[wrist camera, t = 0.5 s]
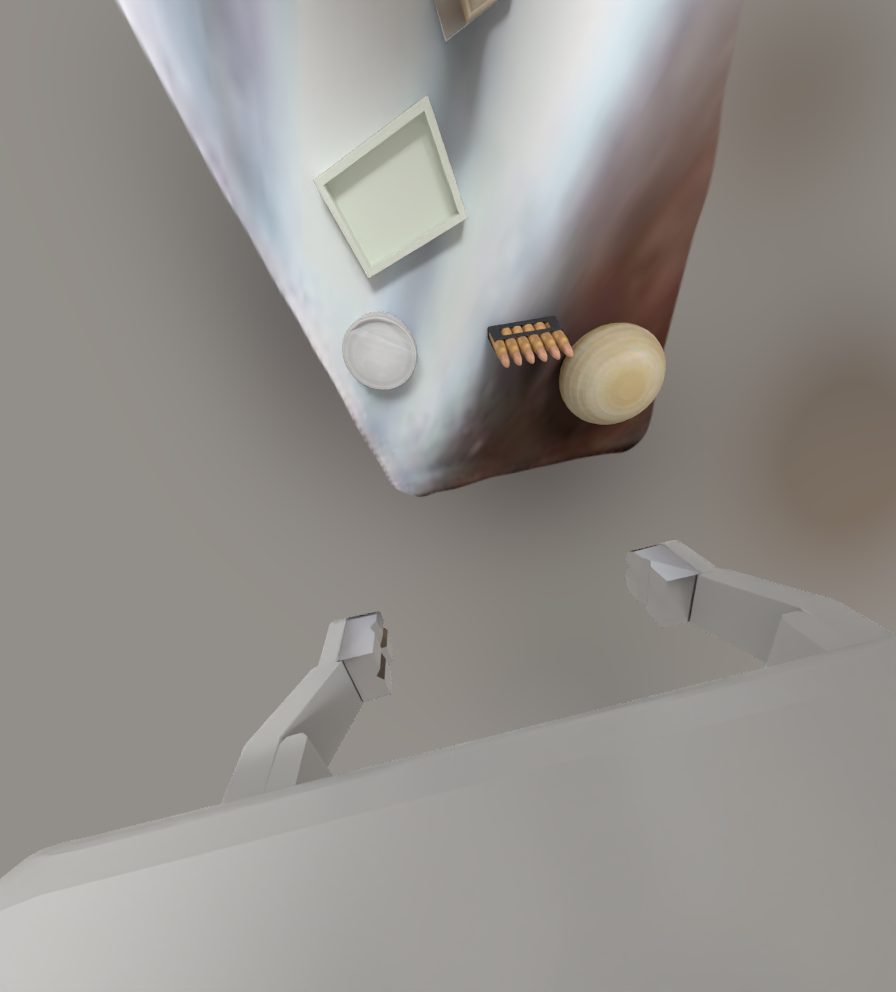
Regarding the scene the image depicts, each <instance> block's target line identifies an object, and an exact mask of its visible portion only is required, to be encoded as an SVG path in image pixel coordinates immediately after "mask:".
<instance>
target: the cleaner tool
mask: <svg viewBox="0 0 896 992" xmlns="http://www.w3.org/2000/svg"><path fill="white" fill-rule="evenodd" d="M497 1H499V0H434V3H435V7H436V11H437V14H438V18H439V21H440V25H441V29H442V32H443V36H444V39H445V42H447V41H448V40H449V39H450V38H452V37H453V36H454V35H456V34H457V33H458V32H459V31H461V30H462V29H463V28H464V27H466V26H467V25H468V24H469V23H471V22H472V21H473V20H475V19H476V18H477V17H478V16H480V15H481V14H482V13H483V12H485V11H486V10H487V9H488V8H490V7H491V6H492V5H494V4H495V3H496V2H497Z"/></svg>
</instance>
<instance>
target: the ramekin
mask: <svg viewBox="0 0 896 992" xmlns="http://www.w3.org/2000/svg"><path fill="white" fill-rule="evenodd" d="M343 357H344V361H345V364H346V366H347V368H348V370H349V371H350V373H351V374H352V375H353V376H354V377H355V378H356V379H357V380H358V381H359V382H360V383H362V384H364V385H366V386H368V387H371V388H374V389H380V390H387V389H393V388H396V387H398V386H400V385H402V384H403V383H405V382H406V381H407V380H408V379H409V378H410V377H411V375H412V374H413V372H414V369H415V367H416V363H417V348H416V344H415V341H414V339H413V337H412V335H411V333H410V332H409V330H408V329H407V327H406V325H405V324H404V323H403V322H402V321H401V320H400V319H399V318H397V317H396V316H394V315H392V314H389V313H387V312H383V311H382V312H380V311H377V312H370V313H368V314H365V315H363V316H362V317H360V318H359V319H358V320H356V321H355V322H354V323H353V324H352V325H351V326H350V327H349V329H348V330H347V332H346V334H345V337H344V340H343Z"/></svg>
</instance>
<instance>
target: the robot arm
mask: <svg viewBox="0 0 896 992" xmlns="http://www.w3.org/2000/svg"><path fill="white" fill-rule="evenodd" d="M626 562H627V563H628V564H629V565H630V567H629V569H628V570H627V571H626V578H625V579H626V584H627V587H628V590H629V591H630V593H631V595H632V596H633V597H634V598H635V600H636V601H637V602H640V603H642V604H645V605H647V613H648V614H649V615H650V616H651V617H652V618H653V619H654V620H655V621H656V623H657V624H658V625H659V626H660V627H661V628H664V627H669V626H674V625H679V624H683V623H688V622H690V624H691V625H693V626H695V627H697V628H699V629H701V630H703V631H705V632H707V633H709V634H711V635H713V636H715V637H717V638H718V639H720V640H722V641H724V642H726V643H728V644H730V645H732V646H734V647H736V648H738V649H740V650H741V651H743V652H746V653H747V654H749V655H751V656H753V657H755V658H757V659H759V660H761V661H763V662H765V663H766V665H765V668H761V669H757V670H753V671H749V672H745V673H741V674H737V675H733V676H729V677H725V678H721V679H717V680H713V681H709V682H705V683H701V684H697V685H693V686H689V687H685V688H681V689H677V690H673V691H669V692H665V693H662V694H658V695H654V696H649V697H646V698H642V699H638V700H634V701H629V702H626V703H622V704H618V705H614V706H610V707H606V708H602V709H598V710H594V711H590V712H586V713H582V714H578V715H574V716H570V717H566V718H562V719H558V720H554V721H550V722H546V723H542V724H538V725H534V726H530V727H526V728H521V729H518V730H514V731H510V732H506V733H501V734H498V735H493V736H489V737H486V738H482V739H477V740H473V741H470V742H465V743H461V744H458V745H453V746H449V747H446V748H442V749H438V750H434V751H430V752H426V753H422V754H418V755H414V756H410V757H406V758H402V759H398V760H394V761H390V762H386V763H382V764H378V765H374V766H370V767H366V768H362V769H358V770H354V771H350V772H346V773H342V774H338V775H334V776H333V775H332V774H331V772H330V770H329V769H328V766H329V764H330V762H331V760H332V758H333V757H334V755H335V753H336V751H337V749H338V748H339V746H340V744H341V742H342V741H343V739H344V737H345V735H346V733H347V732H348V730H349V728H350V726H351V725H352V723H353V721H354V719H355V717H356V716H357V714H358V712H359V710H360V708H361V707H362V705H363V703H362V702H365V701H369V700H373V699H376V698H380V697H384V696H387V695H390V694H391V677H392V673H391V671H390V668H389V665H390V663H391V662H392V643H391V639H390V635H389V632H388V630H387V629H385V628H384V627H383V624H384V619H383V617H382V614H381V612H379V611H377V612H373V613H368V614H363V615H359V616H354V617H349V618H346V619H342V620H336V621H333V622H332V623H331V624H330V625H329V629H328V632H327V637H326V639H325V643H324V647H323V650H322V654H321V658H320V661H319V665H318V667H315V668H313V669H312V670H311V671H310V672H309V673H308V674H307V675H306V677H305V678H304V679H303V680H302V681H301V682H300V683H299V684H298V686H297V687H296V688H295V689H294V690H293V691H292V692H291V693H290V695H289V696H288V697H287V698H286V699H285V700H284V701H283V702H282V704H281V705H280V706H279V707H278V708H277V709H276V711H275V712H274V713H273V714H272V715H271V716H270V717H269V718H268V719H267V721H266V722H265V723H264V724H263V725H262V726H261V727H260V729H259V730H258V731H257V732H256V733H255V734H254V735H253V736H252V738H251V739H250V740H249V741H248V742H247V743H246V744H245V746H244V748H243V751H242V753H241V755H240V758H239V760H238V763H237V765H236V768H235V770H234V773H233V775H232V778H231V780H230V783H229V785H228V787H227V790H226V792H225V795H224V797H223V800H222V802H221V804H218V805H214V806H210V807H206V808H202V809H198V810H194V811H190V812H186V813H182V814H178V815H174V816H170V817H166V818H162V819H158V820H154V821H150V822H146V823H142V824H138V825H134V826H130V827H126V828H122V829H118V830H114V831H110V832H106V833H103V834H98V835H94V836H90V837H85V838H81V839H77V840H72V841H68V842H64V843H60V844H57V845H54V846H50V847H47V848H45V849H42V850H40V851H38V852H36V853H34V854H33V855H31V856H29V857H28V858H26V859H25V860H23V861H22V862H21V863H19V864H18V865H17V866H16V867H14V868H13V869H12V870H11V871H10V872H8V873H7V874H6V875H4V876H3V877H2V878H1V879H0V992H896V635H895V634H893V633H891V632H889V631H888V630H886V629H884V628H883V627H881V626H879V625H878V624H876V623H874V622H872V621H871V620H869V619H867V618H866V617H864V616H862V615H861V614H859V613H857V612H855V611H854V610H852V609H850V608H849V607H847V606H845V605H844V604H842V603H840V602H838V601H836V600H834V599H830V598H827V597H823V596H820V595H816V594H813V593H809V592H806V591H802V590H799V589H795V588H792V587H788V586H785V585H781V584H778V583H774V582H771V581H767V580H764V579H760V578H757V577H753V576H750V575H746V574H743V573H739V572H735V571H732V570H728V569H718V568H717V567H715V566H714V565H713V564H711V563H710V562H708V561H707V560H705V559H704V558H703V557H701V556H700V555H698V554H697V553H695V552H694V551H693V550H691V549H690V548H688V547H687V546H686V545H684V544H683V543H681V542H680V541H677V540H671V541H668V542H664V543H660V544H658V545H653V546H649V547H645V548H641V549H637V550H632V551H629V552H628V554H627V556H626Z"/></svg>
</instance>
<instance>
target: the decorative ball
mask: <svg viewBox="0 0 896 992" xmlns="http://www.w3.org/2000/svg"><path fill="white" fill-rule="evenodd" d="M571 348H572V350H573V357H572V358H571V357H568V356H567V355H566V357H565V359H564V361H563V364H562V367H561V370H560V377H559V389H560V392H561V396H562V398H563V400H564V402H565V404H566V406H567V407H568V409H569V410H570V411H571V412H572V413H573V414H575V415H576V416H578V417H579V418H580V419H582V420H584V421H587V422H590V423H595V424H602V425H603V424H614V423H619V422H622V421H625V420H627V419H630V418H632V417H634V416H635V415H637V414H639V413H640V412H641V411H643V410H644V409H645V408H646V407H647V406H648V405H649V404H650V403H651V402H652V401H653V400H654V398H655V397H656V395H657V394H658V392H659V390H660V388H661V386H662V383H663V380H664V376H665V368H666V363H665V355H664V352H663V349H662V347H661V345H660V343H659V342H658V340H657V339H656V337H655V336H654V335H652V334H651V333H650V332H649V331H647V330H646V329H644V328H642V327H640V326H637V325H635V324H629V323H611V324H607V325H603V326H600V327H598V328H596V329H593V330H591V331H590V332H588V333H587V334H585V335H584V336H582V337H581V338H580V339H579V340H578V341H577V342H576V343H575V344H574V345H573V346H572V347H571Z"/></svg>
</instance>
